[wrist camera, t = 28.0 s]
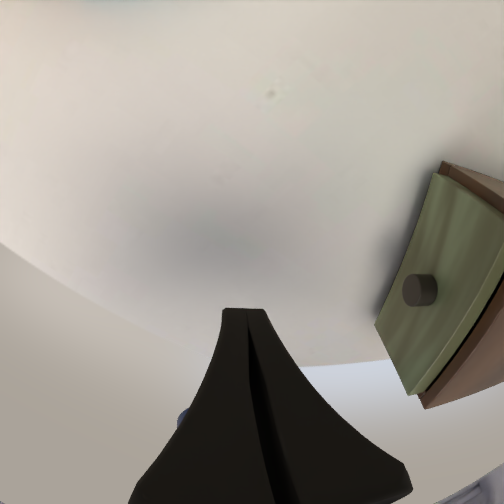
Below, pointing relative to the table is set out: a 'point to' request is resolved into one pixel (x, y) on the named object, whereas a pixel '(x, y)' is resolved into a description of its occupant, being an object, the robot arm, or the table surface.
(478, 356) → the cabinet
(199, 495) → the robot arm
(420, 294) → the drawer
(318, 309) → the table surface
